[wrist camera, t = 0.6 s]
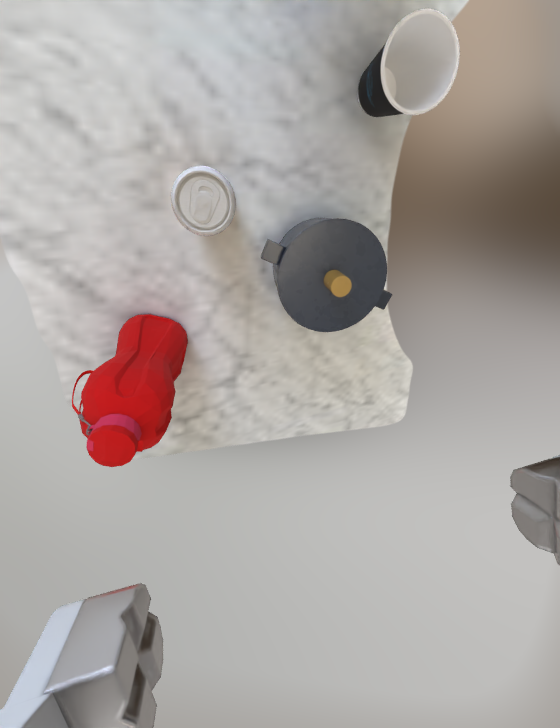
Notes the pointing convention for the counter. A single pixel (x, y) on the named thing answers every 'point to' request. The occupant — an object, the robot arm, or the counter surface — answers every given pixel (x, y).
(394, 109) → the dixie cup
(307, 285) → the pot lid
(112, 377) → the water bottle
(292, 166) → the counter surface
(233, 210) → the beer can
